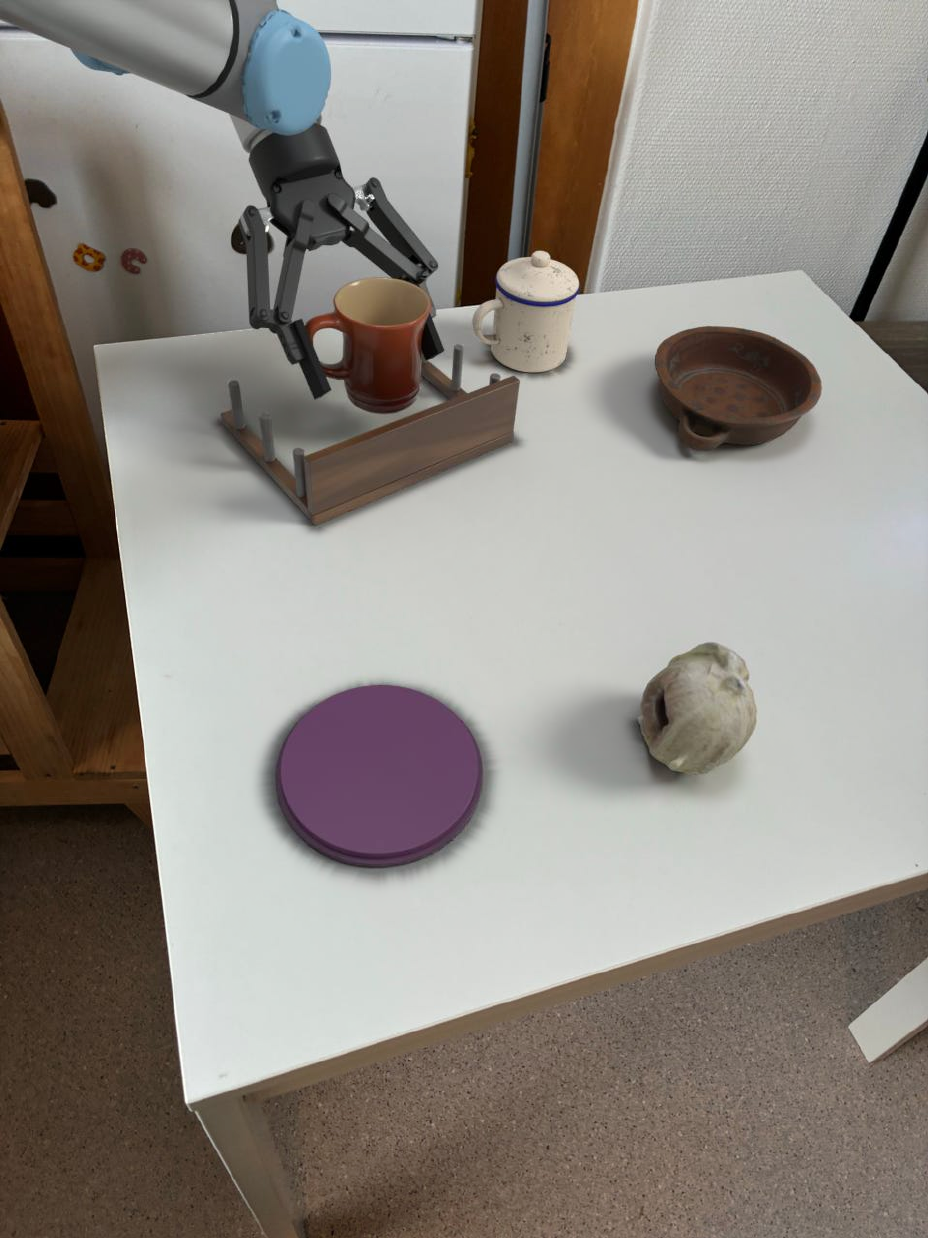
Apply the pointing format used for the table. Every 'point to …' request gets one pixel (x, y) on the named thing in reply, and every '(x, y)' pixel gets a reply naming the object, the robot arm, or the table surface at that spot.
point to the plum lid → (379, 776)
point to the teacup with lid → (530, 313)
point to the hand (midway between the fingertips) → (381, 374)
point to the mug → (377, 342)
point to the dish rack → (388, 445)
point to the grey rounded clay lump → (698, 709)
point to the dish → (734, 385)
